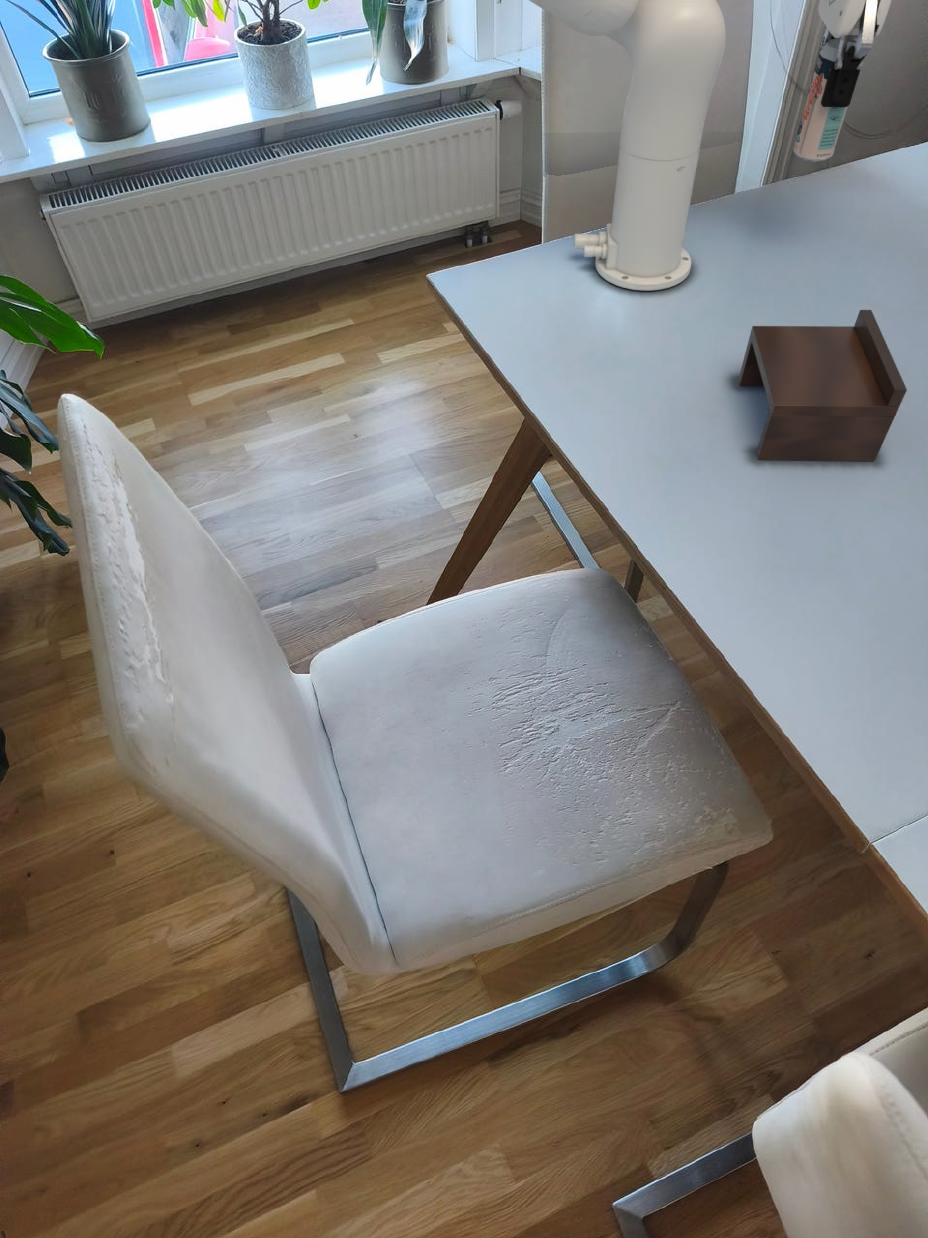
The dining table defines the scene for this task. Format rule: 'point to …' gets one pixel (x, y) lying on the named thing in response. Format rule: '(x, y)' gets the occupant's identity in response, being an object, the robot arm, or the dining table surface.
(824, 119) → the beer can
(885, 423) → the shelf
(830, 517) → the dining table surface
